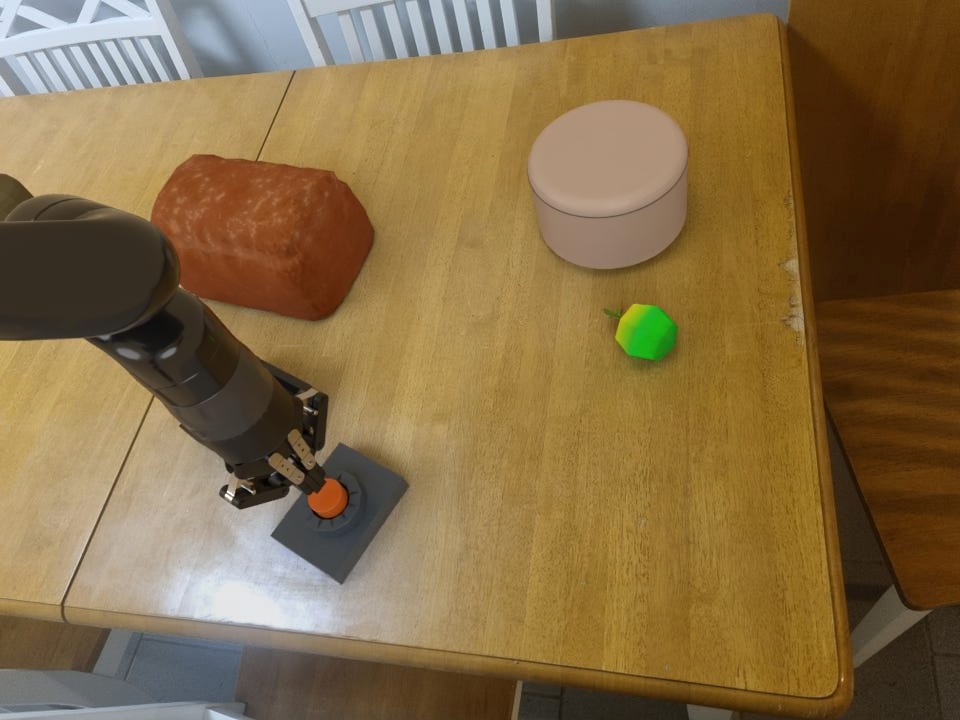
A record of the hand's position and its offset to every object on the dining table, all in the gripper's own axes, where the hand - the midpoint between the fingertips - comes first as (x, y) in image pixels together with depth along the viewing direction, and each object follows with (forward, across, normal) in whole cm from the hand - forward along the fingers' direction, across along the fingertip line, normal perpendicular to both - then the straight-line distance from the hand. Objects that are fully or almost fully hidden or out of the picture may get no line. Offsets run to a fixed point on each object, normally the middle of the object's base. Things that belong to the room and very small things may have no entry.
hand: (315, 484), depth 72 cm
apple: (+7, -32, +18) cm, 38 cm away
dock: (+7, -4, -17) cm, 18 cm away
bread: (+7, -24, -31) cm, 39 cm away
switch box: (+7, 0, 0) cm, 7 cm away
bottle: (+7, -8, -55) cm, 56 cm away
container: (+7, -47, +7) cm, 48 cm away
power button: (+3, 0, 0) cm, 4 cm away
